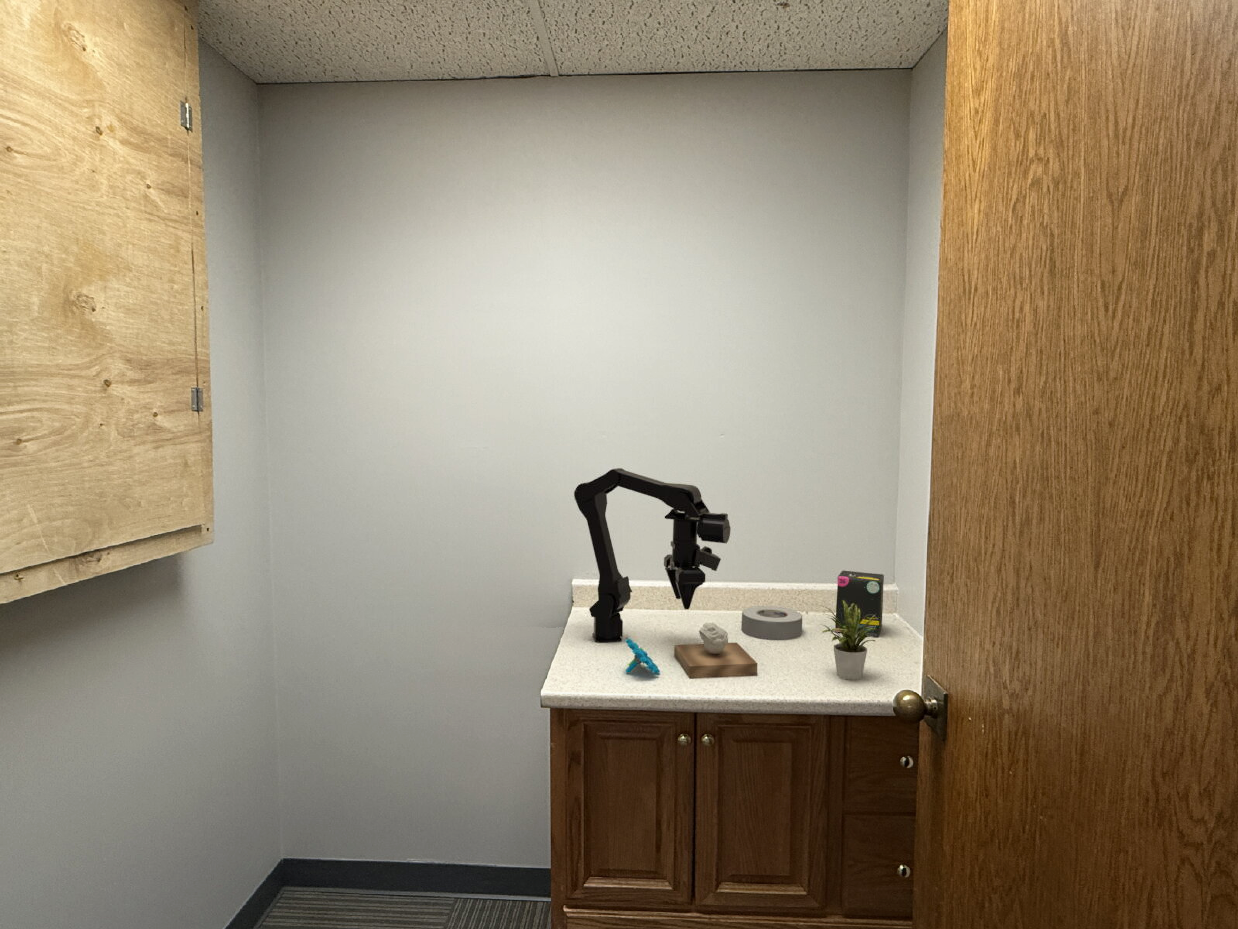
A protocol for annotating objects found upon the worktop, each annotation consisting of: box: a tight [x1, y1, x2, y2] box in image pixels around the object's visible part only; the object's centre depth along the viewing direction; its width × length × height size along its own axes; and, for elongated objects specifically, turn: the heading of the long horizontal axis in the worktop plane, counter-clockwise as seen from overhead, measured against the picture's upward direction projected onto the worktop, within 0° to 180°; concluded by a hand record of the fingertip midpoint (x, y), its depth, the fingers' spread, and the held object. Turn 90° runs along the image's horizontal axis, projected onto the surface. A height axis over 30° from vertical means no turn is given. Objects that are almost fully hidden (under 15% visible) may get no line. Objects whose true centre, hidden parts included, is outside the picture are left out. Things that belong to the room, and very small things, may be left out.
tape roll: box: [741, 605, 803, 641], centre depth 206 cm, size 15×15×5 cm
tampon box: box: [834, 570, 885, 638], centre depth 207 cm, size 11×9×15 cm
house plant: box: [819, 601, 876, 681], centre depth 174 cm, size 14×14×16 cm
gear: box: [624, 638, 661, 675], centre depth 174 cm, size 11×6×10 cm
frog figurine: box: [698, 622, 729, 654], centre depth 179 cm, size 6×7×7 cm
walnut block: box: [673, 641, 758, 680], centre depth 179 cm, size 15×15×4 cm
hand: (682, 603), depth 190 cm, fingers open, 9 cm apart
